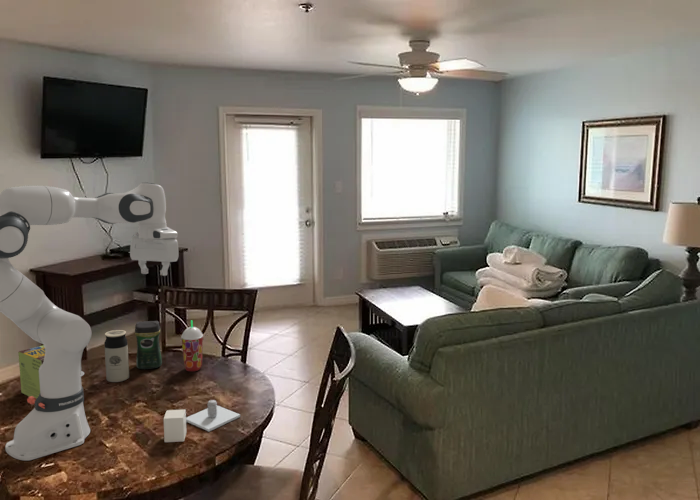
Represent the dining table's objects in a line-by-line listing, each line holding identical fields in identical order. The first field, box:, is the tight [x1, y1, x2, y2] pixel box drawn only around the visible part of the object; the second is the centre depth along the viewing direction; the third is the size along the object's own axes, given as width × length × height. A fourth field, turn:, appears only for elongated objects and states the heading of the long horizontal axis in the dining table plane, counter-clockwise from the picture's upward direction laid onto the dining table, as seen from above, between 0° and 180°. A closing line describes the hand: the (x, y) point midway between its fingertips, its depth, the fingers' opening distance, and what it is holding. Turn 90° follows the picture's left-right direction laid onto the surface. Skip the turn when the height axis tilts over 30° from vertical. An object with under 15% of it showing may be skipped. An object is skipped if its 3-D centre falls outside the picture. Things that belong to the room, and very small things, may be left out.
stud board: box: [186, 399, 241, 432], centre depth 187 cm, size 13×12×6 cm
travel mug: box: [104, 329, 130, 383], centre depth 218 cm, size 8×8×18 cm
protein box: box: [18, 344, 45, 399], centre depth 204 cm, size 10×15×16 cm
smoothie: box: [180, 319, 204, 372], centre depth 228 cm, size 8×8×20 cm
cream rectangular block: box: [163, 409, 187, 443], centre depth 174 cm, size 6×6×8 cm
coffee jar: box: [134, 320, 163, 370], centre depth 231 cm, size 10×8×19 cm
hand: (154, 274), depth 191 cm, fingers open, 8 cm apart
